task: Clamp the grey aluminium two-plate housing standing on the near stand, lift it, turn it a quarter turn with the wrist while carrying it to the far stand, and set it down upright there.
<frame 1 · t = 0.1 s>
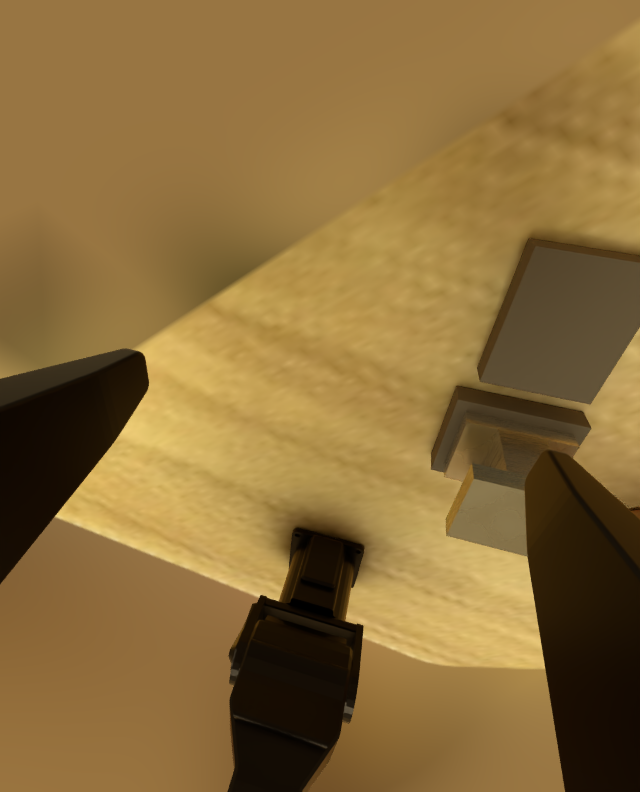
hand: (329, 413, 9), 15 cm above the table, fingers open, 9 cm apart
stand a: (500, 435, 25), on the table
housing: (504, 450, 24), point 1 cm above the table, touching stand a
stand b: (557, 320, 20), on the table
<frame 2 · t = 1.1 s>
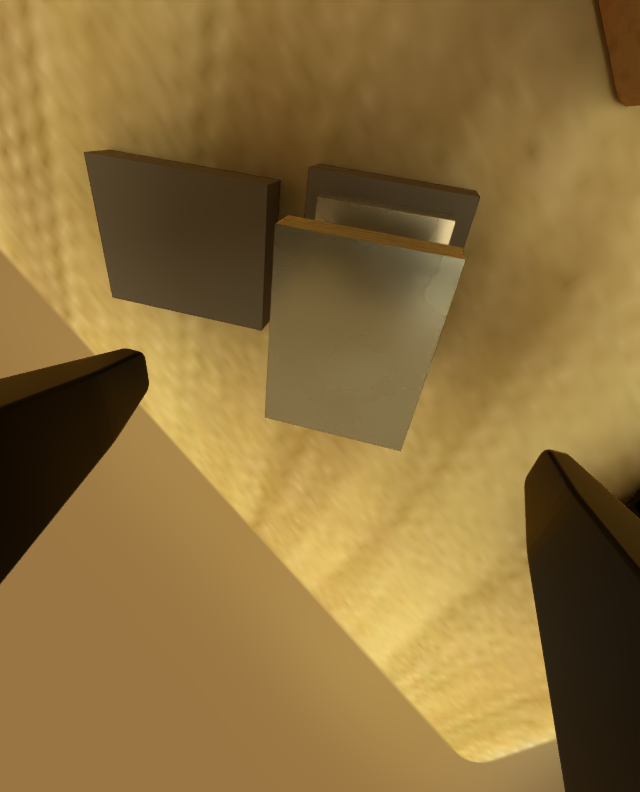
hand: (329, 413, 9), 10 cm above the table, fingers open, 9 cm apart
stand a: (375, 275, 16), on the table
housing: (370, 287, 15), point 1 cm above the table, touching stand a
stand b: (197, 239, 17), on the table
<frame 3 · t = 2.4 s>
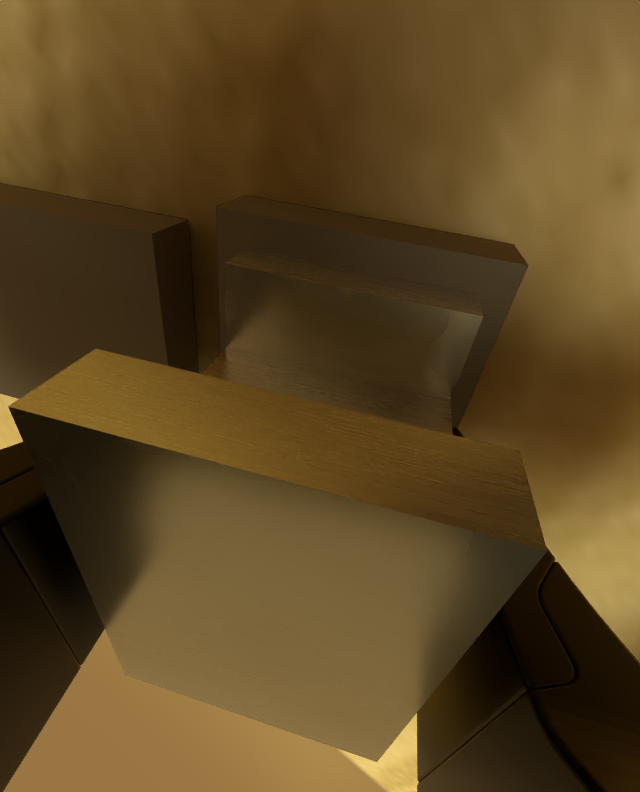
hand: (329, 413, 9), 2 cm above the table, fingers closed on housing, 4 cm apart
stand a: (346, 364, 11), on the table
housing: (335, 395, 9), point 1 cm above the table, touching gripper, stand a
stand b: (78, 303, 11), on the table
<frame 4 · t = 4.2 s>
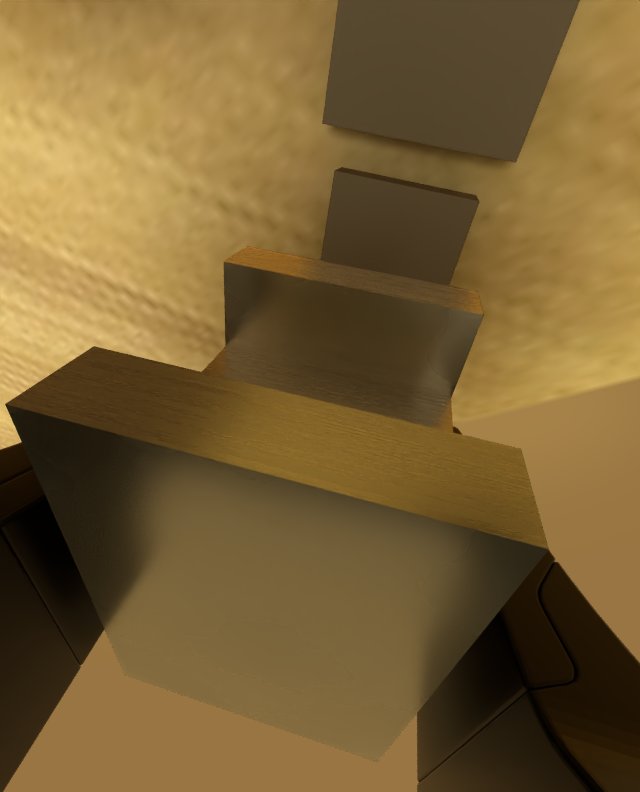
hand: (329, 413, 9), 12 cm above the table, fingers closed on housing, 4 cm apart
stand a: (442, 45, 14), on the table
housing: (335, 394, 9), point 12 cm above the table, touching gripper
stand b: (386, 266, 19), on the table
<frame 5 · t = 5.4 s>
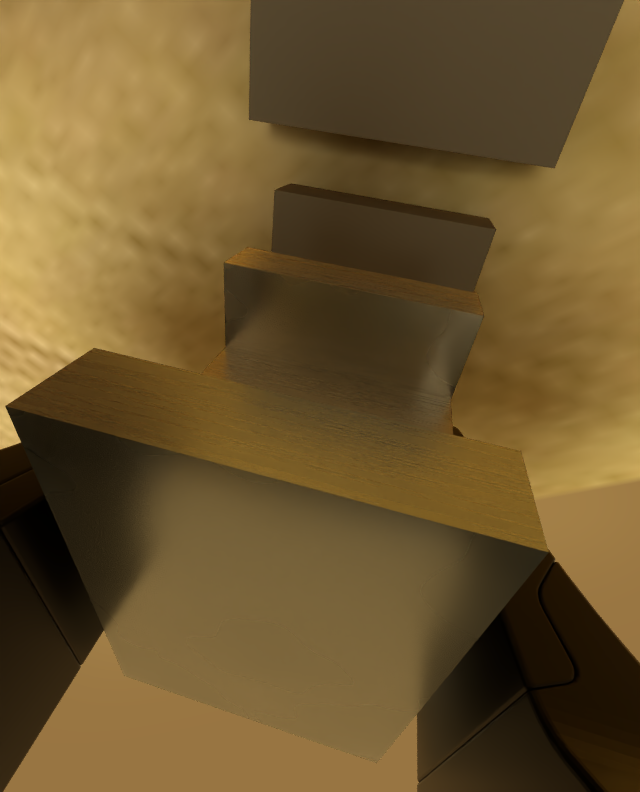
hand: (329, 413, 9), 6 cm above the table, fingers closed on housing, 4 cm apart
housing: (335, 395, 9), point 5 cm above the table, touching gripper
stand b: (363, 316, 13), on the table
when the fingers open (3 cm above the table, at t = 6.3 s): housing stays where it is, resting on stand b.
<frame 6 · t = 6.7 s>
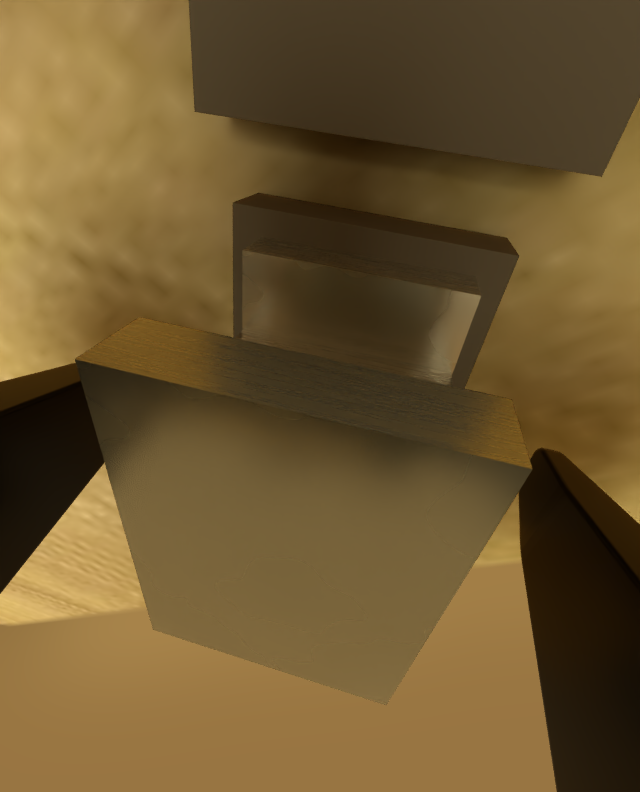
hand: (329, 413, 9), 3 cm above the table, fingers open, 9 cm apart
housing: (343, 376, 10), point 1 cm above the table, touching stand b
stand b: (351, 352, 11), on the table
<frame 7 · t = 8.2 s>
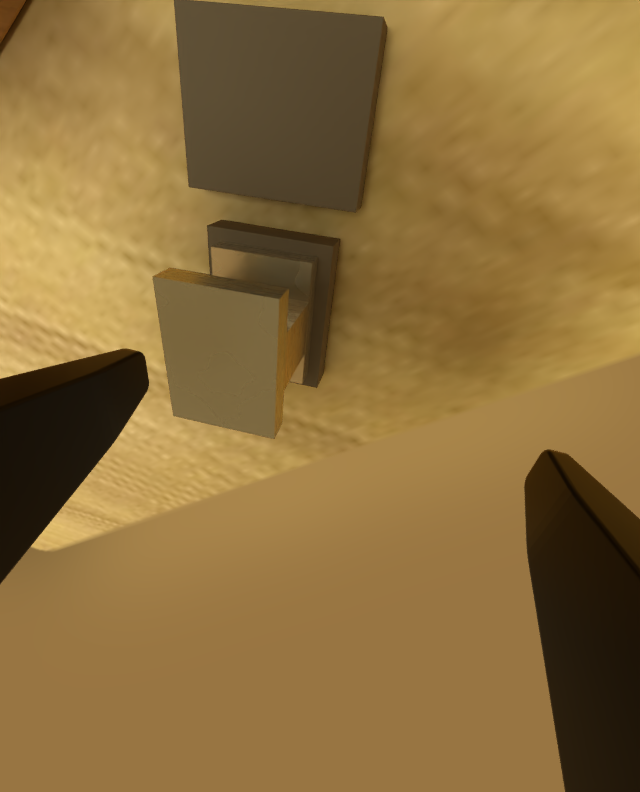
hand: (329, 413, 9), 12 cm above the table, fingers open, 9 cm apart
stand a: (284, 115, 16), on the table
housing: (267, 312, 19), point 1 cm above the table, touching stand b
stand b: (276, 303, 20), on the table
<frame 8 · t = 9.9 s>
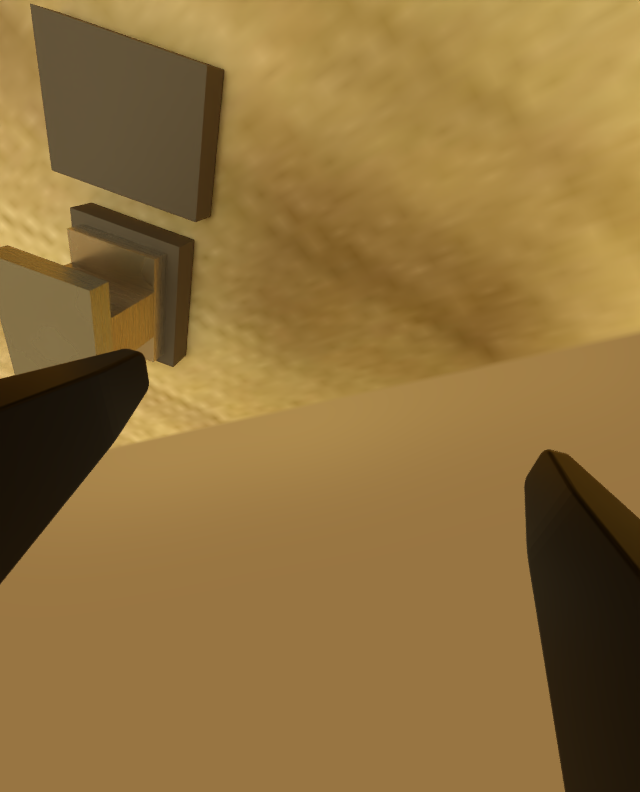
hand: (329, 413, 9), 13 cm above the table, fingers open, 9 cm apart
stand a: (141, 123, 18), on the table
housing: (127, 293, 21), point 1 cm above the table, touching stand b
stand b: (142, 286, 23), on the table
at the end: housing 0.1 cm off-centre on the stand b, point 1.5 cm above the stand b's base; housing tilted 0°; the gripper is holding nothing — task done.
